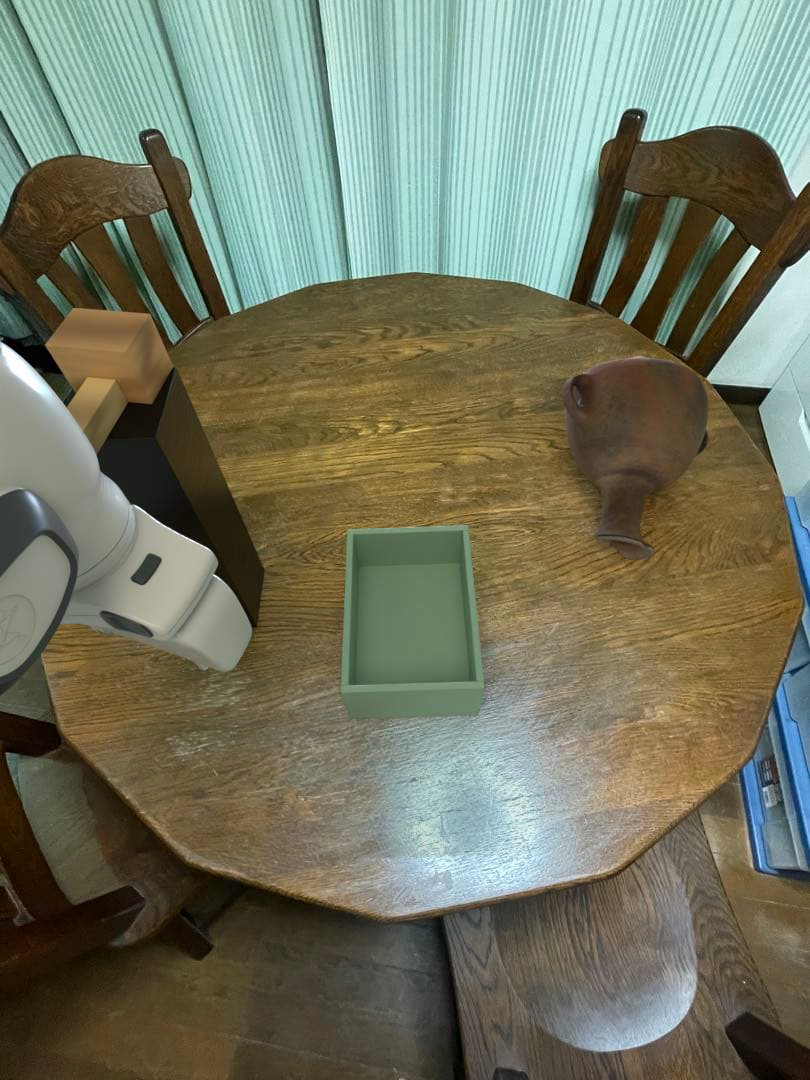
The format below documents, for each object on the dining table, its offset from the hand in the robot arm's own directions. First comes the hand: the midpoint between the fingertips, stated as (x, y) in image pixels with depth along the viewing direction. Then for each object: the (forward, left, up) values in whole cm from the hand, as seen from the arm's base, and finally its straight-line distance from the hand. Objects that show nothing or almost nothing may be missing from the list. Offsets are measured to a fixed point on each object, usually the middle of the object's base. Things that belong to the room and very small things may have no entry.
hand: (156, 643), depth 50 cm
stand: (+6, +17, -25) cm, 31 cm away
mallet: (+4, +15, +11) cm, 19 cm away
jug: (+64, +3, -25) cm, 69 cm away
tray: (+25, -1, -25) cm, 35 cm away
